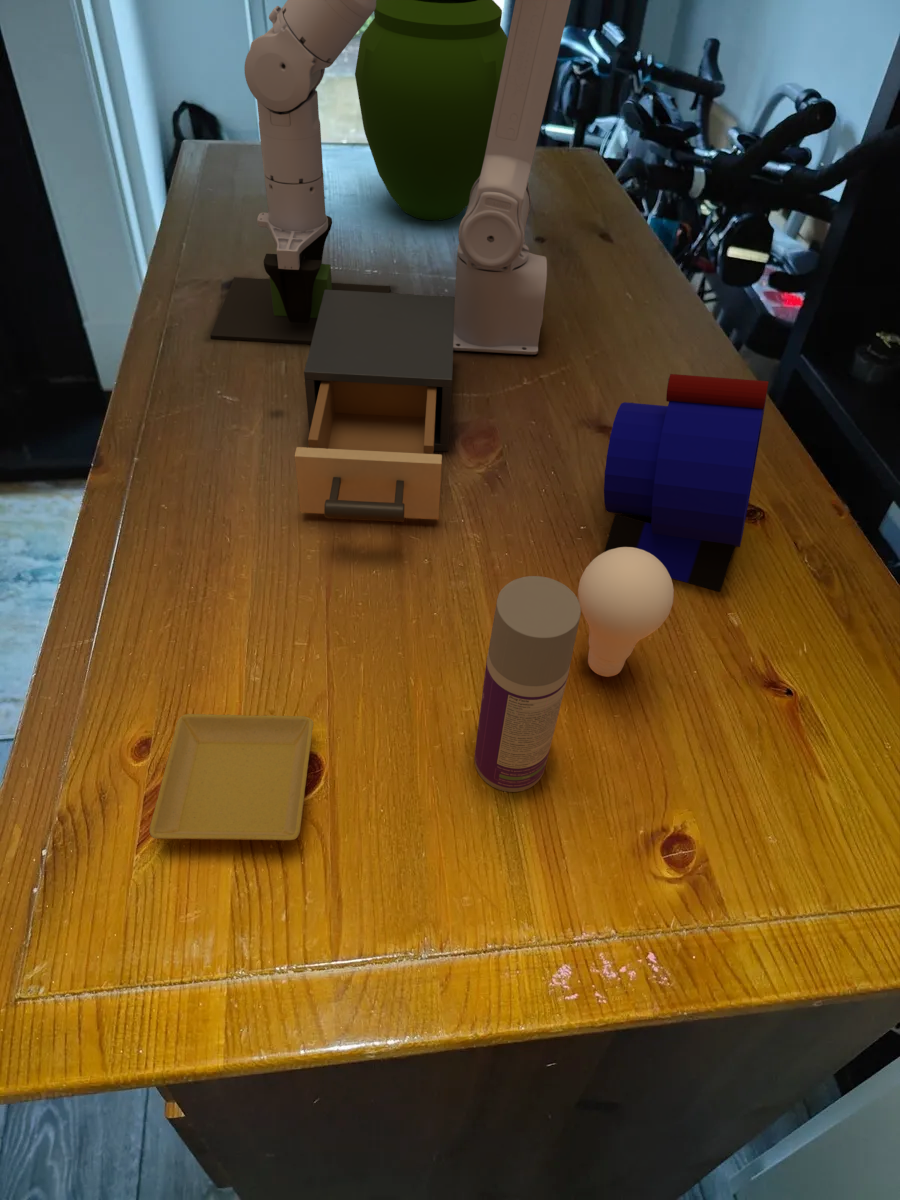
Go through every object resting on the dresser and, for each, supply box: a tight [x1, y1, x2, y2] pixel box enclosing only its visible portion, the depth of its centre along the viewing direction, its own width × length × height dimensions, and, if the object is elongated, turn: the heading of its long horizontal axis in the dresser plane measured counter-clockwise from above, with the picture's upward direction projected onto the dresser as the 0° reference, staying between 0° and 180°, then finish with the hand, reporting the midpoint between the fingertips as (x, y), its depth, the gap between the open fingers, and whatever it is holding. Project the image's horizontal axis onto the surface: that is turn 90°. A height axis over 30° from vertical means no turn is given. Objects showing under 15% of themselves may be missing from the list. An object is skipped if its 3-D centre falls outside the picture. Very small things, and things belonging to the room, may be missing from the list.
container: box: [474, 575, 582, 793], centre depth 50 cm, size 5×5×15 cm
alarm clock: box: [603, 373, 770, 593], centre depth 66 cm, size 12×12×15 cm
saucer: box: [148, 713, 314, 841], centre depth 52 cm, size 9×9×2 cm
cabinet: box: [303, 290, 455, 452], centre depth 79 cm, size 15×13×8 cm
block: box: [269, 263, 333, 318], centre depth 91 cm, size 6×4×4 cm, turn 89°
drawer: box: [294, 380, 443, 523], centre depth 70 cm, size 18×11×6 cm, turn 179°
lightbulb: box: [577, 547, 675, 678], centre depth 57 cm, size 6×6×11 cm
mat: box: [209, 276, 391, 345], centre depth 93 cm, size 18×13×1 cm
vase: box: [354, 0, 508, 221], centre depth 105 cm, size 20×20×24 cm
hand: (304, 303), depth 92 cm, fingers open, 7 cm apart
